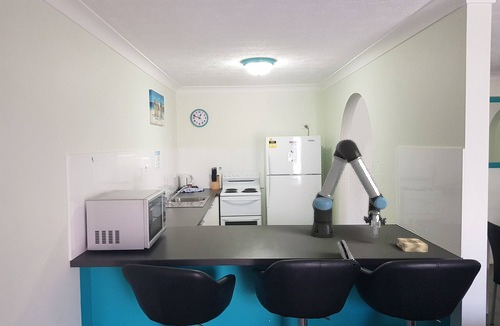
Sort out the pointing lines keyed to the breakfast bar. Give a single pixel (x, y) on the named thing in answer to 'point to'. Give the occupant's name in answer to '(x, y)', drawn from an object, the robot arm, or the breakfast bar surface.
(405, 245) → the socket block
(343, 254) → the hinge
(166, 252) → the breakfast bar surface
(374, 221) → the pin
